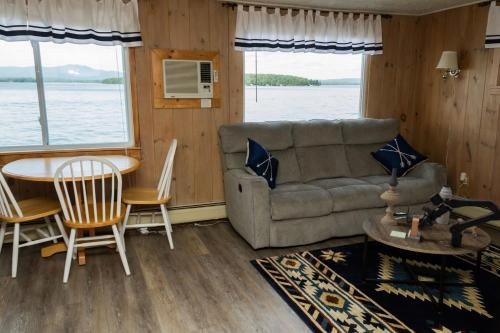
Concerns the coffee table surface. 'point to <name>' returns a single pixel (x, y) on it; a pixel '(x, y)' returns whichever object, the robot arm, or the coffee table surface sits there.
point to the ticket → (414, 227)
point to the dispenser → (412, 238)
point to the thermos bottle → (447, 194)
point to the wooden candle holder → (391, 200)
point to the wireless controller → (412, 216)
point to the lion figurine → (470, 228)
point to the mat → (398, 234)
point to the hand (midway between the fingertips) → (418, 224)
